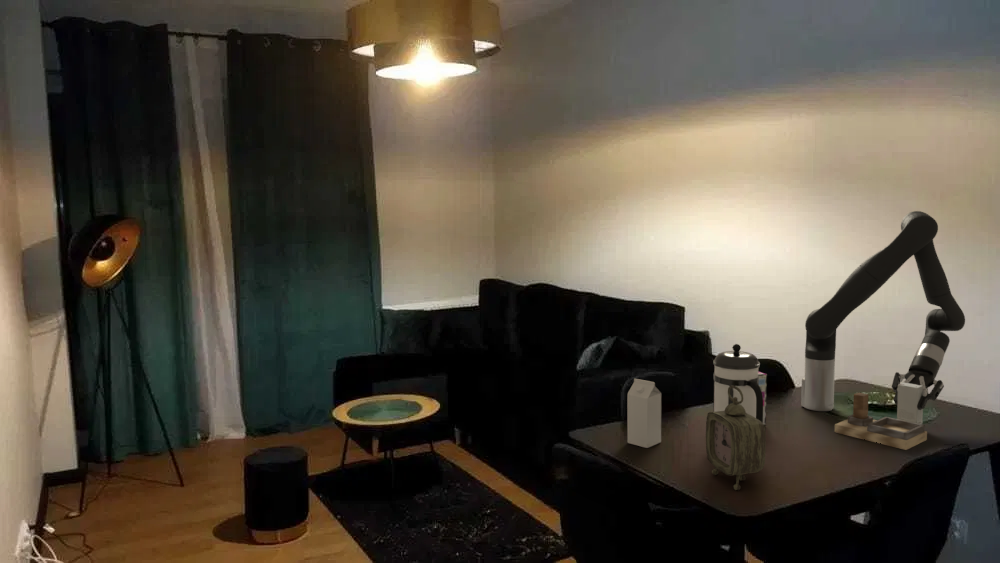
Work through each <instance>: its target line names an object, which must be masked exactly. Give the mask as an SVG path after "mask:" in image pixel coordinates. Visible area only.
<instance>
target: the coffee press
mask: <svg viewBox="0 0 1000 563" xmlns="http://www.w3.org/2000/svg"><path fill="white" fill-rule="evenodd" d="M731 348H732V350H727V351H722V352H720V353H718V354H717V355H716V357H715V358H714V359H713V363H712V364H713V365H714V372H713V412H717V411H725V408H726V407H727V406H728V405H729V404H732V403H733V401H731V399H730V398H729V396H728V388H729V387H730V386H736V387H738V388H739V389H740V390H741V391H742V394H743V402H742V403H741V404H740V405H742V406H743V407H744V409H745V411H746V413H747V414H749V415H751V416H753V417H755V418H756V419H758V420H760V421H761V422H762V423H763V396H762V391H761V389H760V387H759V375H758V371H759V368H760V365H761V363H760V361H759V359H758V357H757V356H756V355H754V354H752V353H751V352H748V351H742V350H741V349H742V347H741V345H740V344H738V343H735V344H733V345H732V347H731ZM730 395H731V397H732V398H734V397H737V401H741V395H740V393H739V392H738V390H736V389H734V388H731V389H730Z"/></svg>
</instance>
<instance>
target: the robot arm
mask: <svg viewBox="0 0 1000 563" xmlns="http://www.w3.org/2000/svg"><path fill="white" fill-rule="evenodd" d="M900 230H901V231H900V233H898V235H897V236H896V237H895V238H894V239H893V240H892V241H891V242H890V243H889V244H888V245H887V246H884V248H882V249H880V250H879V251H877V252H876V253H873V254H872V255H871V256H869V257H868V258H866V259H865V260H864V261H863V262H861V263H860V265H858V266H857V267H856V268H855V269H854V270H853V271H852V272H851V274H849V276H848V277H847V278H846V279H845V280H844V282H843V283H842V284H841V285H840V287H839V288H838V289H837V291H836V292H835V294H834V295H833V296H832V297H831V298H830V299H829V300H828V301H827V302H826V303H824V305H822V306H821V307H820V308H818V309H814V310H813V311H811V312H810V313H809V314H808V316H807V317H806V319H805V330H806V331H805V338H806V339H805V347H804V348H805V349H804V377H803V378H802V379H801V396H800V400H801V401H800V402H801V403H800V406H801V407H804V408H805V409H807V410H811V411H815V412H829V411H832V409H833V410H834V405H835V403H834V402H835V400H834V399H835V374H836V373H835V368H836V349H837V348H836V347H837V346H836V345H837V341H836V340H837V329H838V328H839V326H840V325H841V324H842V323H843V321H844V320H845V319H846V318H847V317H848V316H850V314H851V313H853V311H855V310H856V309H857V308H858V307H859V306H861V305H862V304H864V303H865V302H866V301H867V300H869V298H871V297H872V296H873V295H874V294H875V293H876V292H878V290H879V289H881V287H883V286H884V285H885V283H887V281H889V279H890V278H891V277H892V276H893V275H894V274H896V273H897V272H898V270H900V269H901V267H902V266H904V264H905V263H906V262H907V261H908V260H909V259H910V258H912V257H914V260H915V264H916V266H917V270H918V274H919V278H920V281H921V285H922V289H923V292H924V295H925V299H926V301H927V303H928V304H930V305H932V306H936V307H939V308H934V309H932V310H930V311H929V312H928V314H926V318H925V319H926V320H925V330H924V335H923V338H922V341H921V343H920V345H919V347H918V348H917V350H916V352H915V355H914V356H913V359H912V361H911V363H910V366H909V367H908V371H907V372H905V373H903V374H901V373H899V372H897V371H896V372H895V373H894V377H893V381H892V383H891V389H892V390H893V392H894V393H895V395H893V396H894V397H893V399H892V400H893V402H894V405H895V406H897V398H898V385H899V384H901V383H903V382H905V383H910V384H916V385H921V386H923V391H922V395H923V396H921V398H920V400H919V402H918V404H917V408H918V410H922V409H923V410H924V409H925V407H926V405H927V403H928V401H929V400H932V401H936V400H937V399H938V397H939V395H940V394H941V392H942V391H943V389H944V387H945V385H944V383H943V380H941V379H938V380H936V377H937V375H938V372H939V370H940V368H941V366H942V364H943V362H944V357H945V355H946V352H947V349H948V347H949V345H950V341H951V340H950V337H949V336H948V334H946V333H944V332H958V331H961V330H962V329H963V328H964V327H965V323H966V317H965V314H964V312H963V310H962V308H961V306H960V305H959V303H958V302H957V301H956V299H955V298H954V296H953V295H952V291H951V288H950V285H949V281H948V279H947V276H946V273H945V270H944V268H943V266H942V264H941V261H940V258H939V256H938V254H937V251H936V248H935V243H934V239H935V238H936V236H937V234H938V230H939V225H938V222H937V220H935V218H934V217H932V216H931V215H929V213H926V212H924V211H920V210H914V211H911V212H909V213H907V214H906V215H904V216H903V218H902V220H901V222H900ZM904 379H905V380H904ZM903 380H904V381H903ZM931 386H933V388H932V389H931V391H930V393H929V388H930V387H931Z"/></svg>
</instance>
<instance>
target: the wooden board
mask: <svg viewBox="0 0 1000 563" xmlns="http://www.w3.org/2000/svg"><path fill="white" fill-rule="evenodd" d="M869 396H870V394H868V393H863V392H856V393H854V394H853V403H852V404H853V407H852V408H853V409H852V410H853V412H852V414H850V415H848V416H847V419H844V420H841V421H840V422H838V423H834V433H837V434H839V435H845V436H847V437H848V436H849V437H852V438H857V439H861V440H864V439H865V440H864V441H869V442H872V443H876V442H877V443H876V444H880V443H881V444H880V445H885V446H888V447H893V448H897V449H901V450H905V451H907V450H909V449H911V448H913V447H915V446H917V445H919V444H921V443H923V442H925V441H927V440H928V431H927V430H925V428H926V426H925V424H922V425H921V424H917V423H912V422H908V421H903V420H899V419H897V418H892V417H889V416H883V417H882V418H879V419H875V418H874V417H873V416H871V415H869Z"/></svg>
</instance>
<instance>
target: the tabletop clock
mask: <svg viewBox="0 0 1000 563" xmlns="http://www.w3.org/2000/svg"><path fill="white" fill-rule="evenodd" d="M731 388H734V389H736V390H738V392H739V393H740V395H741V401H737V397H734V398H732V397H731V395H730V389H731ZM728 396H729V398H730V399H731V401H733V403H732V404H729V405H728V406H727V407H726V408H725V411H717V412H714V411H710V412H708V413H707V417H706V421H705V422H706V424H705V448H706V449H705V450H706V455H707V457H706V458H707V460H708V462H710V464H711V465H712V466H713V467H714V468H713V469H712V470H711V474H712V475H714V476H717V475H719V472H721V473H723V474H725V475H726V476H735V484H734V485H733V490H735V491H736V490H738V491H740V490H741V485H740V484H739V483H740V481H741V480H744V481H746V476H745V474H754V473H760V471H762V469H764V466H765V464H766V462H765V461H766V452H767V451H766V449H767V446H766V440H767V439H766V438H767V437H766V428H765V425H764V424H763V423H762V422H761V421H760V420H758V419H756V418H755V417H753V416H751V415H749V414H747V413H746V411H745V409H744V407H743V406H742V405H740V404H741V403H742V402H743V394H742V391H741V390H740V389H739V388H738V387H736V386H730V387H729V388H728Z"/></svg>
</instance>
